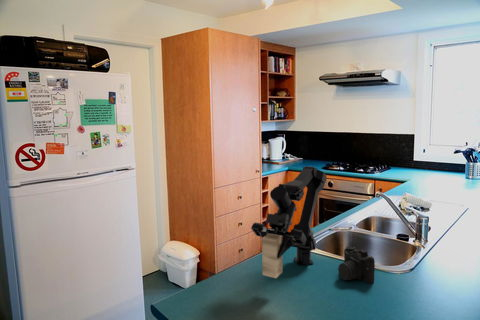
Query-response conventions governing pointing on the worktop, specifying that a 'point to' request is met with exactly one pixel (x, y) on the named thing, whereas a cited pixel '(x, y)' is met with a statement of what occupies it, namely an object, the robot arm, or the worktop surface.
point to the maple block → (271, 255)
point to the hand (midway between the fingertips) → (270, 256)
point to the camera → (357, 265)
